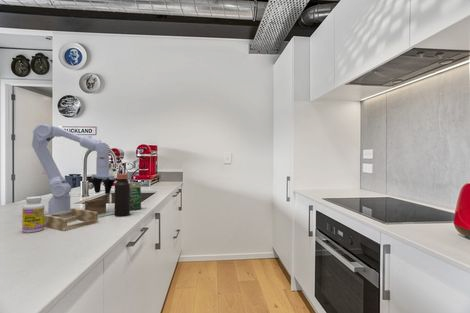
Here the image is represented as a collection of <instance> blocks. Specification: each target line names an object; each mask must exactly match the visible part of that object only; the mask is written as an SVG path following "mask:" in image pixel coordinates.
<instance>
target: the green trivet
mask: <svg viewBox="0 0 470 313" xmlns="http://www.w3.org/2000/svg"><path fill="white" fill-rule="evenodd" d="M113 215H115V212H111V211H110V212H109V211H106V213H103V214H98V219H99V218H104V217H107V216H113Z"/></svg>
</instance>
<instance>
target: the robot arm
mask: <svg viewBox="0 0 470 313" xmlns="http://www.w3.org/2000/svg"><path fill="white" fill-rule="evenodd" d="M32 134H33V136H32V142H31V147H32V149H33V150H34V152H35V154H36V156H37V158H38V161H39V162H40V164H41V165H42V166H41V167H42V168H43V171H44V172H45V174H46V175H47V177H48V179H49V186H50V187H51V188H50V193H51V194H52V197H50V198H49V200H48V208H47V210H48V211H47V214H46V215H51V214H55V213H58V212H61V211H70V209H71V194H70V192H71V191H72V185H71V184H70V183H69V182H68V181H66V180H67V179H65V177H63V176H62V174H61V172H60V170H59V168H58V166H57V164H56V162H55V160H54V158H53V156H52V154H51V152H50V150H49V148H48V144H49V143H50V141H51V140H52V139H54V138H55V137H56V138H58V137H60V138H61V137H63V138H66V139H69V140H71V141H74V142H77V143H79V146H80V147H82V148H85V149H87V150H90V151H93V152H96V167H95V168H96V169H95V170H96V172H95V174H91V179H90V182H91V183H92V186H93V189H94V192H95V194H99V193H101V186H102V183H103V186H104V194H105V195H108V194H111V191H112V187H113V185H114V184H115V182H116V179H115V175H112V174H110V157H109V155H110V154H109V152H110V146H109V144H107V142H102V140H100V139H99V140H98V139H95V138H92V137H93V136H91V135H84V136H80V135H78V134H76V133H74V132H71V131H69V130H67V129H64V128H62V127H61V128H60V127H58V126H53V125H49V124H46V123H39V124H37V125H36V127H35V128H34V129H33V130H32Z"/></svg>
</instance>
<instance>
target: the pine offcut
mask: <svg viewBox="0 0 470 313" xmlns="http://www.w3.org/2000/svg"><path fill="white" fill-rule="evenodd" d="M66 219H67V224H68V223H69V224H70V223H73V222H77V220H76V216H72V217H69V218H66Z"/></svg>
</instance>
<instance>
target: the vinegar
mask: <svg viewBox="0 0 470 313" xmlns="http://www.w3.org/2000/svg"><path fill="white" fill-rule="evenodd" d="M128 179H129V175H128V173H118V174H116V180H117V182H116V183H114V213H115V214H114V216H115V217H127V216H130V213H131V210H130V186H131V184H130V182H128Z"/></svg>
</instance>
